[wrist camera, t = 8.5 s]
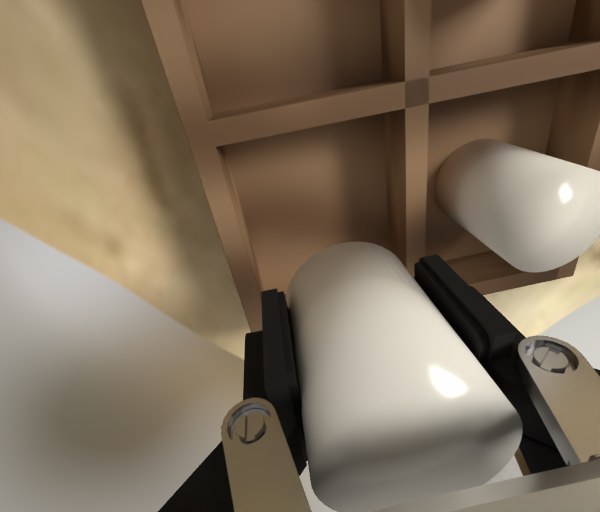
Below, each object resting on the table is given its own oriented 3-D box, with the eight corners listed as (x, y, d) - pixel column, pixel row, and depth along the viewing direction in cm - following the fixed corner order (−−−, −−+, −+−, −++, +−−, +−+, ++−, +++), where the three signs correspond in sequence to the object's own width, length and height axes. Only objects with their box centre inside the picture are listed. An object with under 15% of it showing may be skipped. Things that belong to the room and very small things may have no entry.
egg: (274, 257, 11) (291, 421, 6) (407, 229, 11) (541, 365, 6) (298, 354, 13) (325, 534, 8) (408, 330, 13) (506, 493, 8)
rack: (83, -252, 11) (14, -381, 8) (657, -356, 11) (812, -520, 8) (255, 305, 22) (255, 343, 19) (530, 247, 22) (573, 275, 19)
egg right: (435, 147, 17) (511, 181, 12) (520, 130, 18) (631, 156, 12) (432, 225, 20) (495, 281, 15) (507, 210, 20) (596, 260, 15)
